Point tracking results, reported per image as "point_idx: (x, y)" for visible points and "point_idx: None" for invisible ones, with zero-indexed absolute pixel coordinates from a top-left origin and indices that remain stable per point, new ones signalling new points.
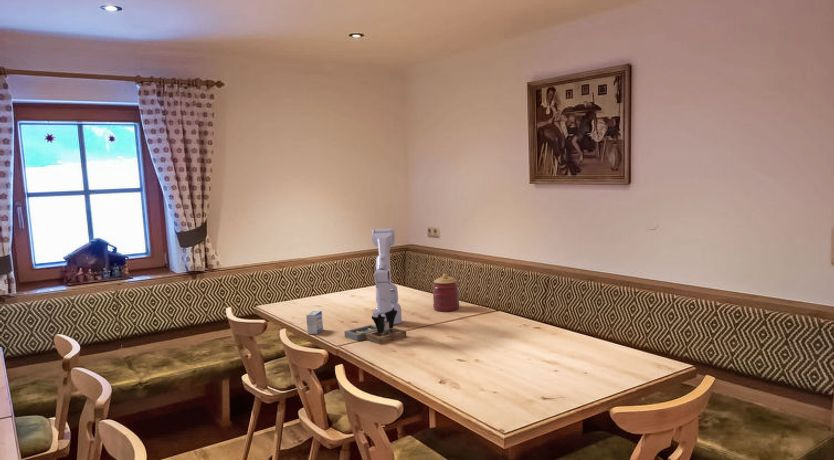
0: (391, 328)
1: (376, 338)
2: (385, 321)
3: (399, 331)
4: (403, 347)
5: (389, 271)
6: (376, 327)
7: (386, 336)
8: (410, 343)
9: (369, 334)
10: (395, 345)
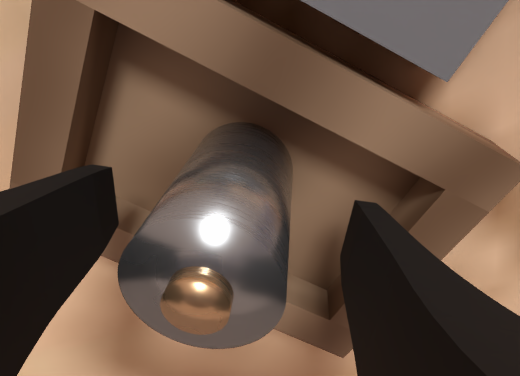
0: (440, 194)
1: (19, 175)
2: (178, 325)
3: (340, 299)
4: (86, 356)
5: None
6: (27, 184)
7: (109, 256)
8: (181, 370)
9: (60, 18)
10: (94, 306)
